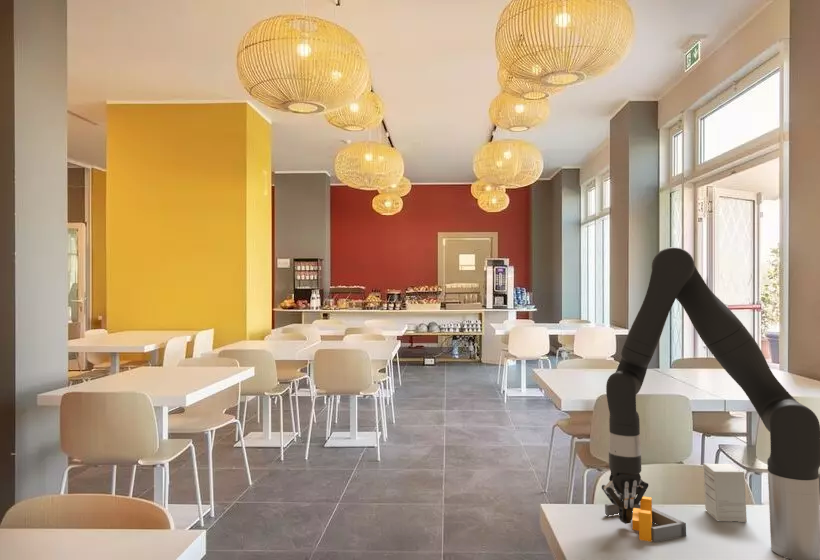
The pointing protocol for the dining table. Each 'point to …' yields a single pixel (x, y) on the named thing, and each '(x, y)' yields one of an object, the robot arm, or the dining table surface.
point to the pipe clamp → (643, 519)
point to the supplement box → (725, 492)
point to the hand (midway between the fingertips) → (625, 522)
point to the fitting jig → (667, 524)
